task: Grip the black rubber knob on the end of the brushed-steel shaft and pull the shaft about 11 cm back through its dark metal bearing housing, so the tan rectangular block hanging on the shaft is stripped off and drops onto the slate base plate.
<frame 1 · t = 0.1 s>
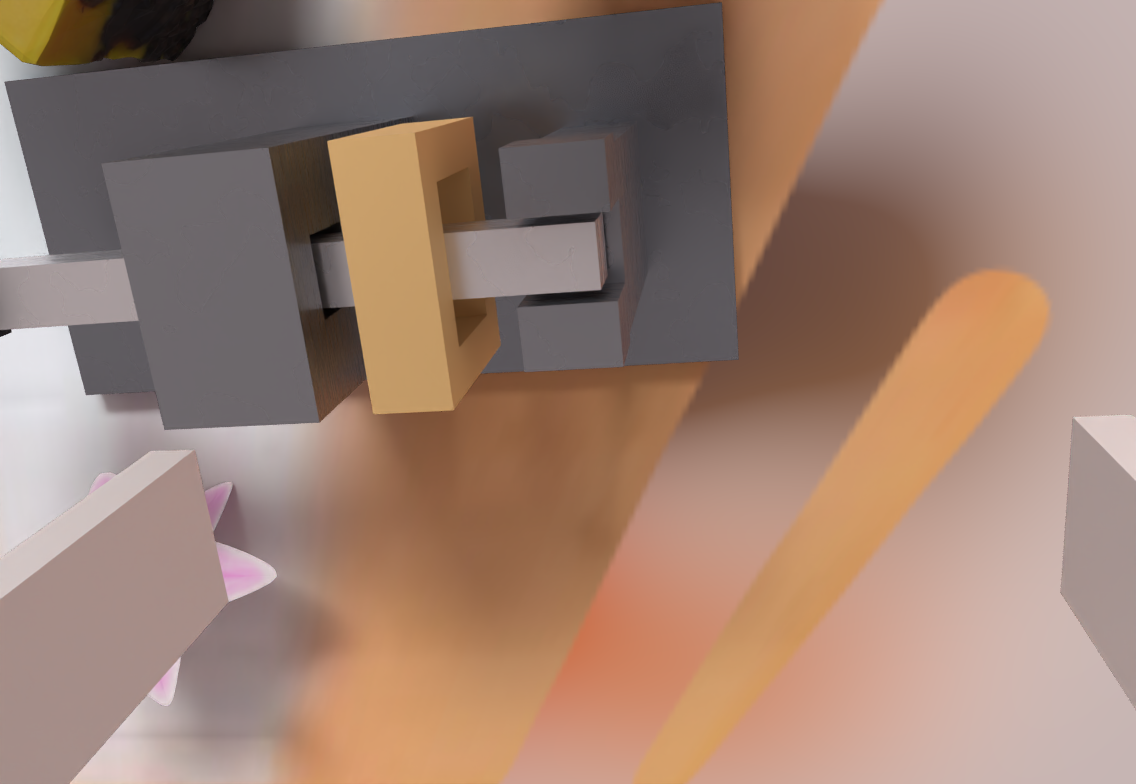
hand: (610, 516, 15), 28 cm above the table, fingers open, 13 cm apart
shaft: (176, 286, 31), point 13 cm above the table, slide at 0.0 cm, touching tan rectangular block
lily: (191, 540, 50), on the table
tan rectangular block: (452, 237, 35), point 7 cm above the table, touching shaft
shaft stand: (376, 216, 43), on the table
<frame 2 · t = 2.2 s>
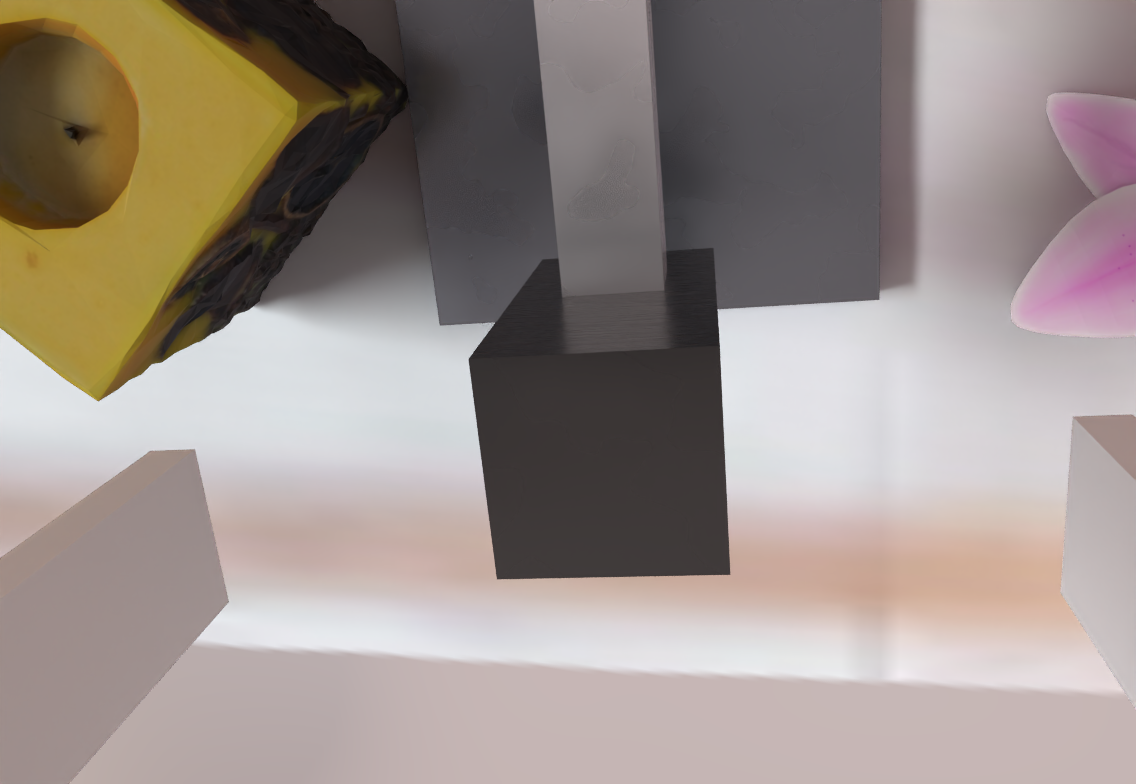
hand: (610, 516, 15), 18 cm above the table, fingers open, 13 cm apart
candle: (212, 106, 33), on the table
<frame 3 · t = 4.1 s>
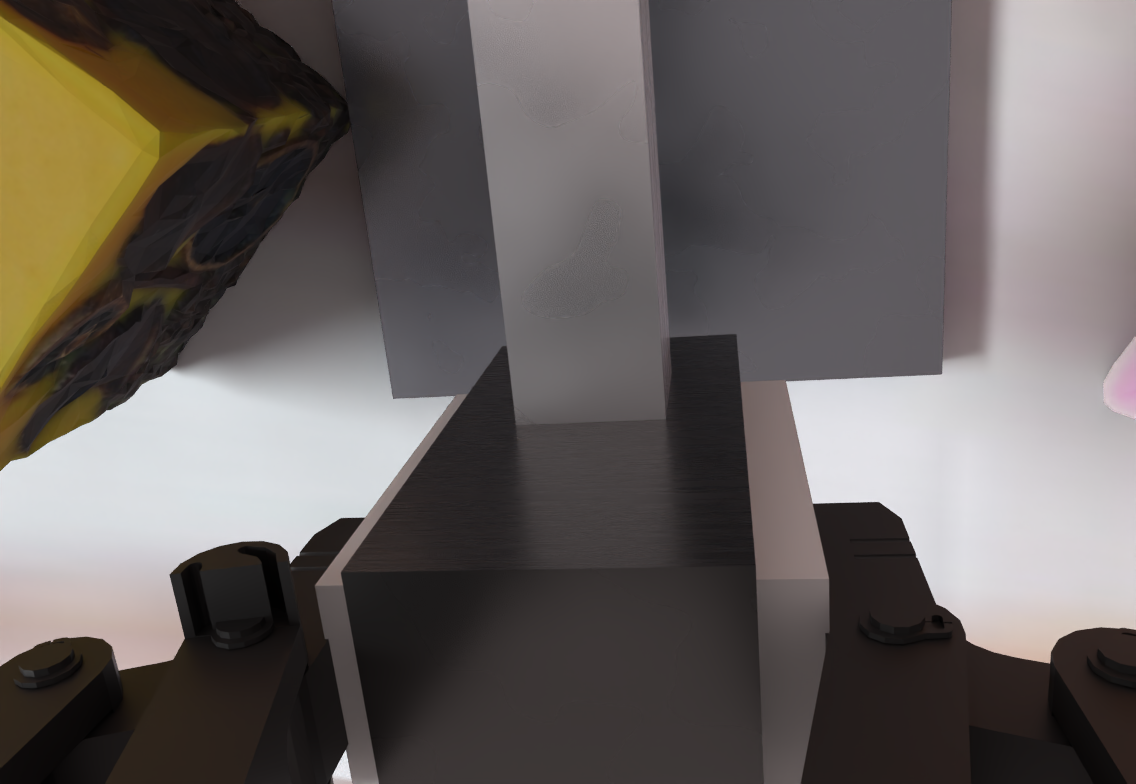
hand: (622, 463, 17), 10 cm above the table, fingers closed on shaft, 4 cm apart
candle: (115, 128, 27), on the table
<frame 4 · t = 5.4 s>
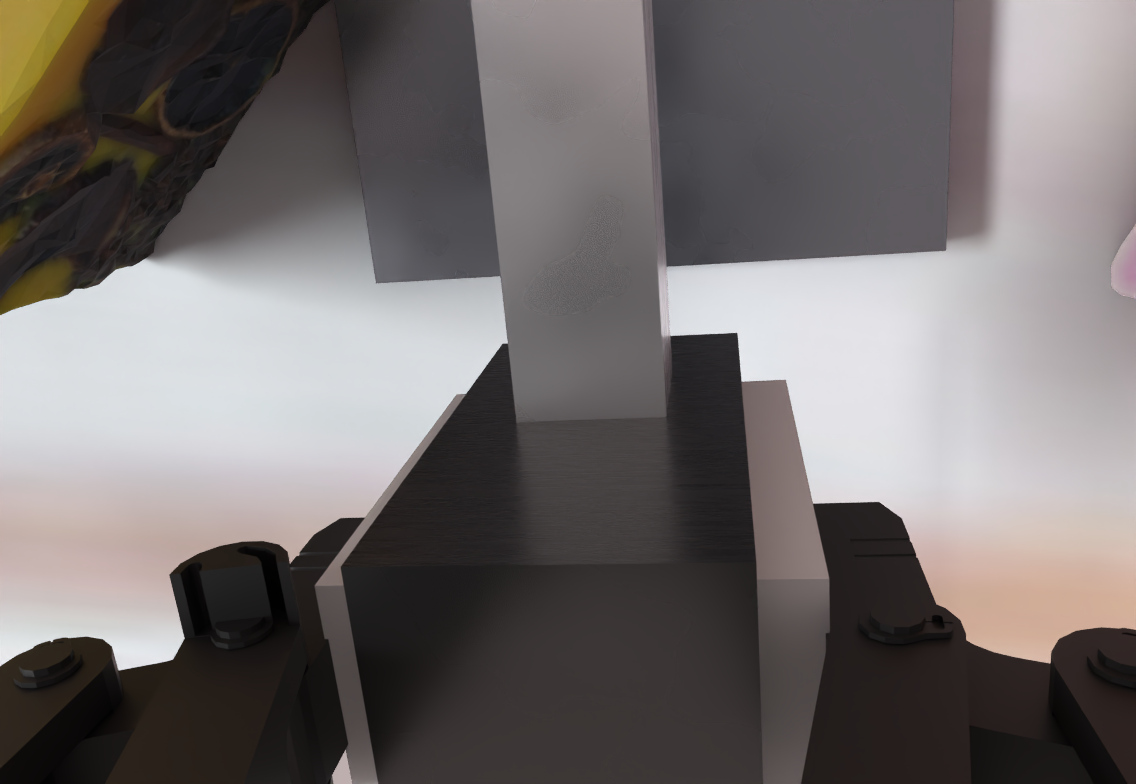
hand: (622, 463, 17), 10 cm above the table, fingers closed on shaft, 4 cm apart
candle: (89, 1, 26), on the table
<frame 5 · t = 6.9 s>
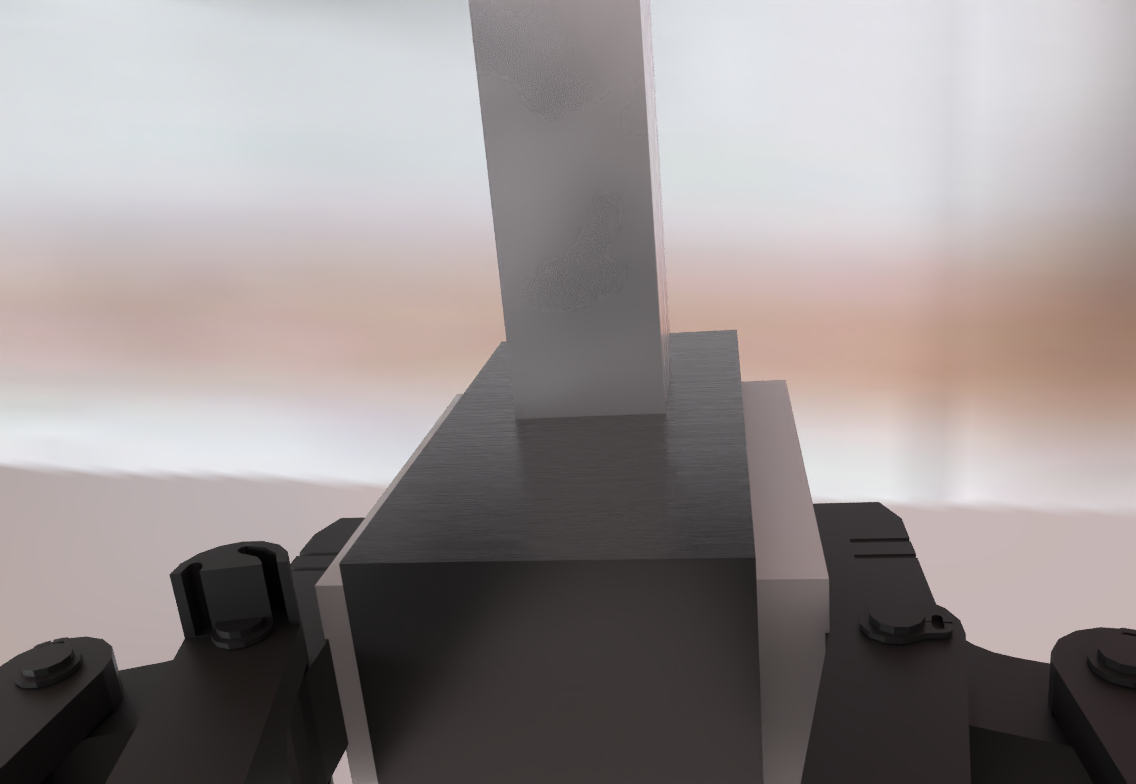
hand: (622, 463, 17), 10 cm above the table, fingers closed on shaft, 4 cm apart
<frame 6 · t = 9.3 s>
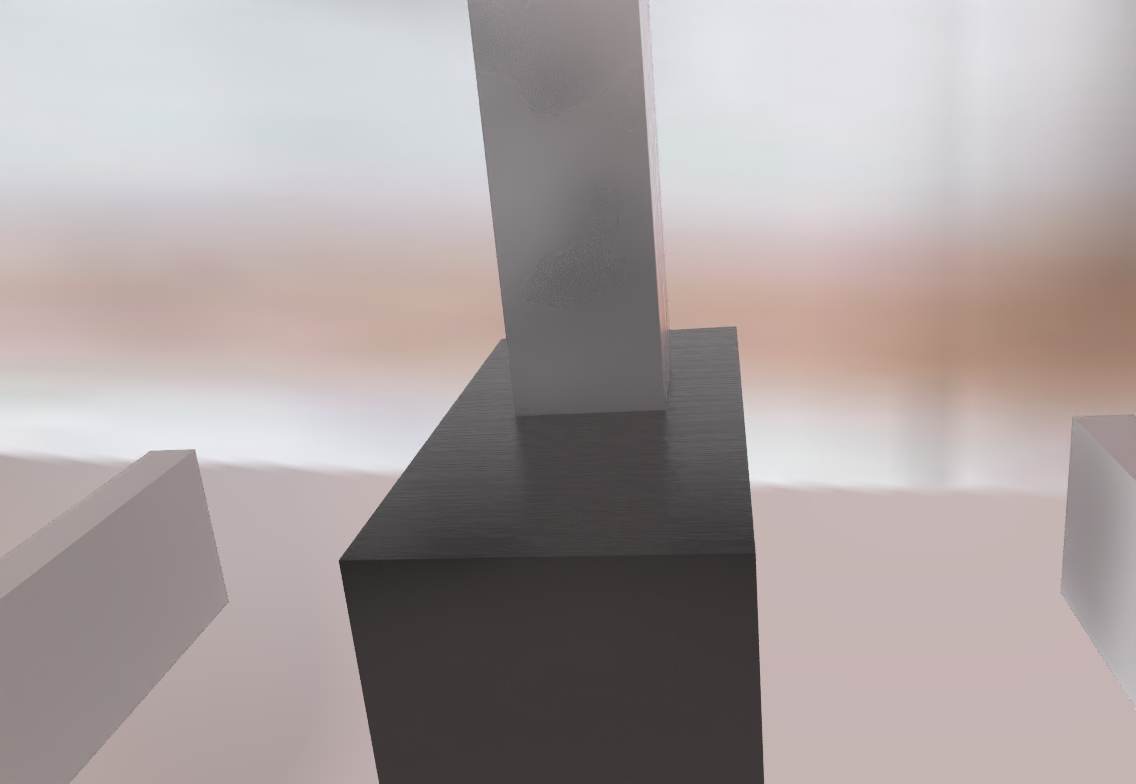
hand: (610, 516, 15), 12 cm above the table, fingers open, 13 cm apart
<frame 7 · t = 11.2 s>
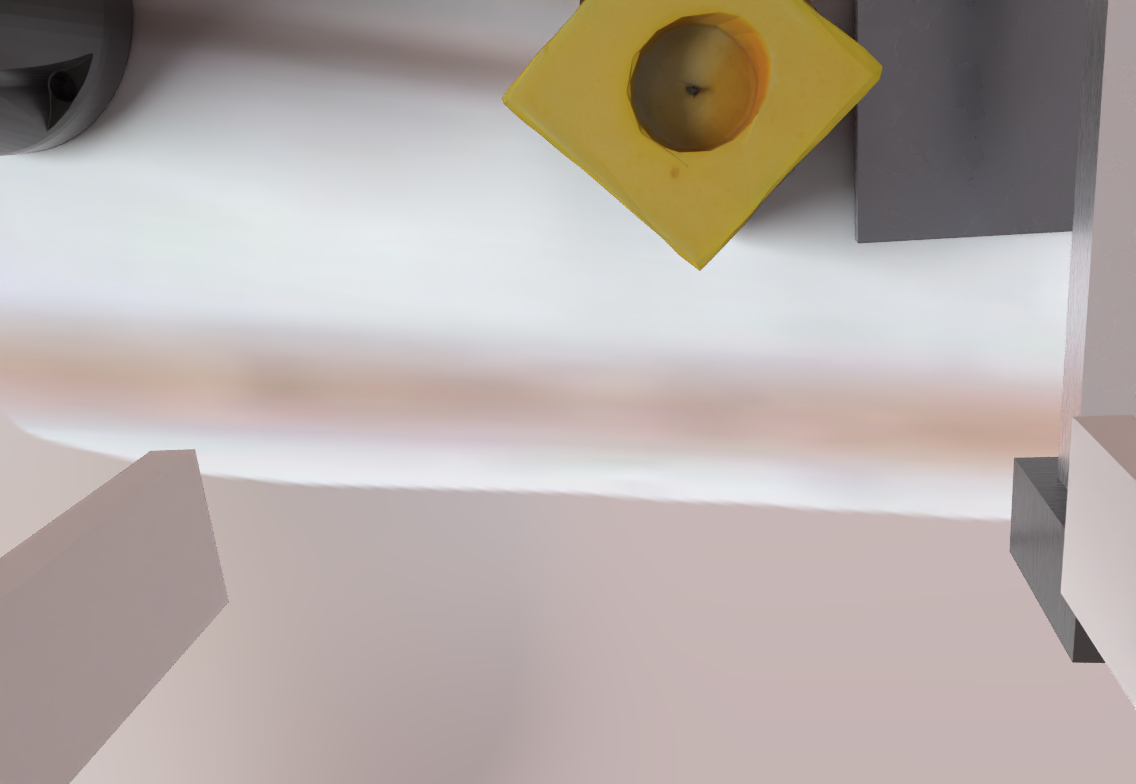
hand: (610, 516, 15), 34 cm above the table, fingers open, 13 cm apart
shaft: (1126, 231, 32), point 13 cm above the table, slide at 10.9 cm
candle: (694, 83, 45), on the table
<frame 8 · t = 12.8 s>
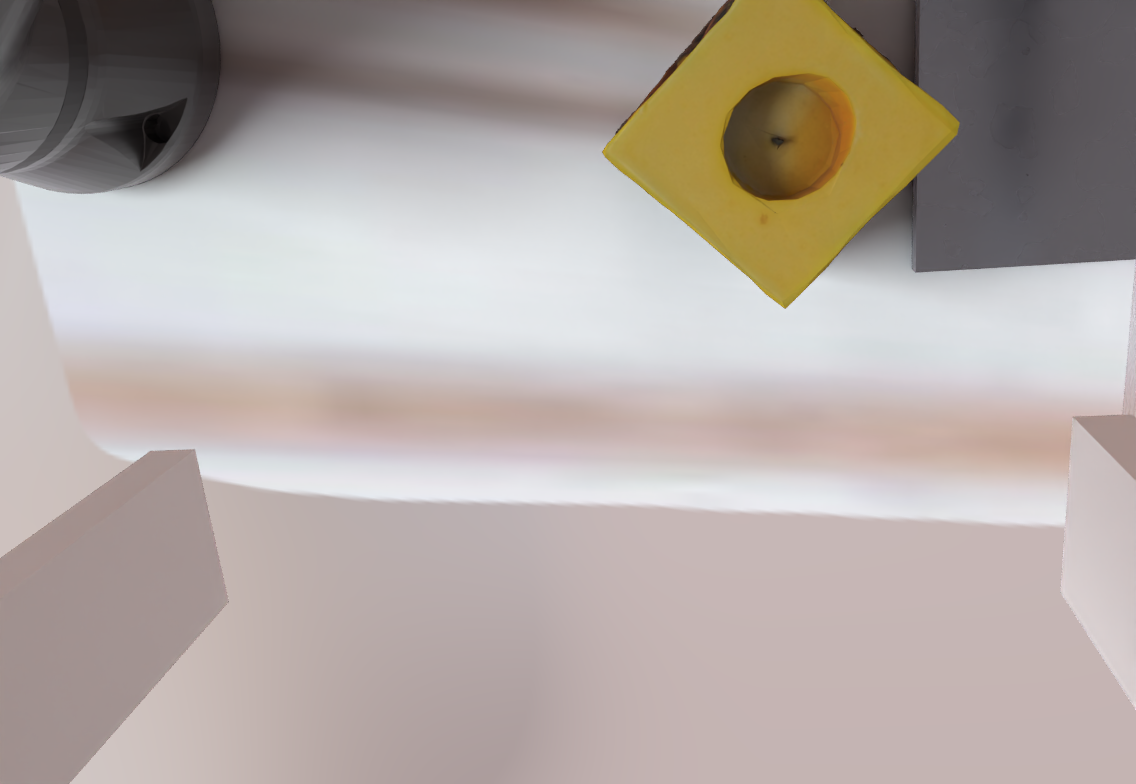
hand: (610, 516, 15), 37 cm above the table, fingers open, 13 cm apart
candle: (761, 122, 48), on the table
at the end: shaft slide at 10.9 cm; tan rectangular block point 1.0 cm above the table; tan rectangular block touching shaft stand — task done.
